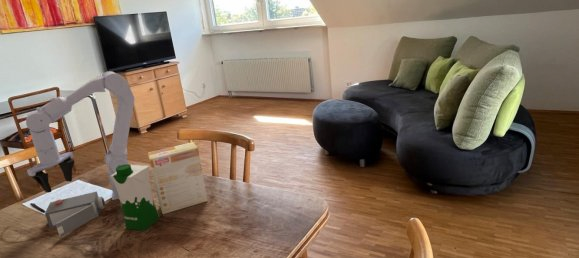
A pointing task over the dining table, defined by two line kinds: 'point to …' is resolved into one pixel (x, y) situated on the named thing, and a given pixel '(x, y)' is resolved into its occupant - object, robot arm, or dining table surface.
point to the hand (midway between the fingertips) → (59, 186)
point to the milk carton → (135, 196)
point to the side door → (76, 219)
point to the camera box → (71, 207)
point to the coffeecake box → (178, 177)
